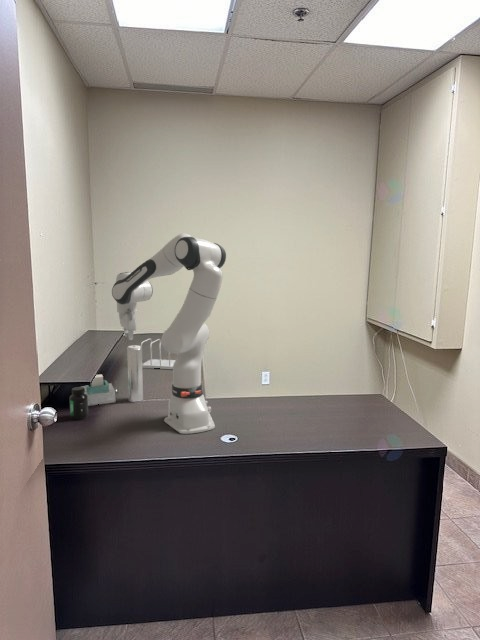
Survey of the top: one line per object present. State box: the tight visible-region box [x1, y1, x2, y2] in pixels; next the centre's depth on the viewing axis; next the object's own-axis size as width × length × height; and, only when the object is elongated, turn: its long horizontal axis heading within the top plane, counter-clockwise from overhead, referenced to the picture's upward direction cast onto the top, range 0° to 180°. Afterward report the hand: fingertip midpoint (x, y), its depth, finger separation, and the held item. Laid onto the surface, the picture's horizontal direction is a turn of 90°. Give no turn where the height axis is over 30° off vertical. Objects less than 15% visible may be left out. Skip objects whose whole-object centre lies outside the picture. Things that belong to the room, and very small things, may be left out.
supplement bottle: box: [68, 386, 89, 421], centre depth 167 cm, size 7×7×12 cm
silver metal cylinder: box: [126, 344, 144, 403], centre depth 188 cm, size 6×6×25 cm
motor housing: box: [80, 379, 119, 407], centre depth 189 cm, size 14×16×8 cm
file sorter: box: [140, 338, 178, 370], centre depth 250 cm, size 25×17×16 cm
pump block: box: [90, 374, 104, 387], centre depth 188 cm, size 5×6×6 cm
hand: (128, 338), depth 190 cm, fingers open, 8 cm apart
